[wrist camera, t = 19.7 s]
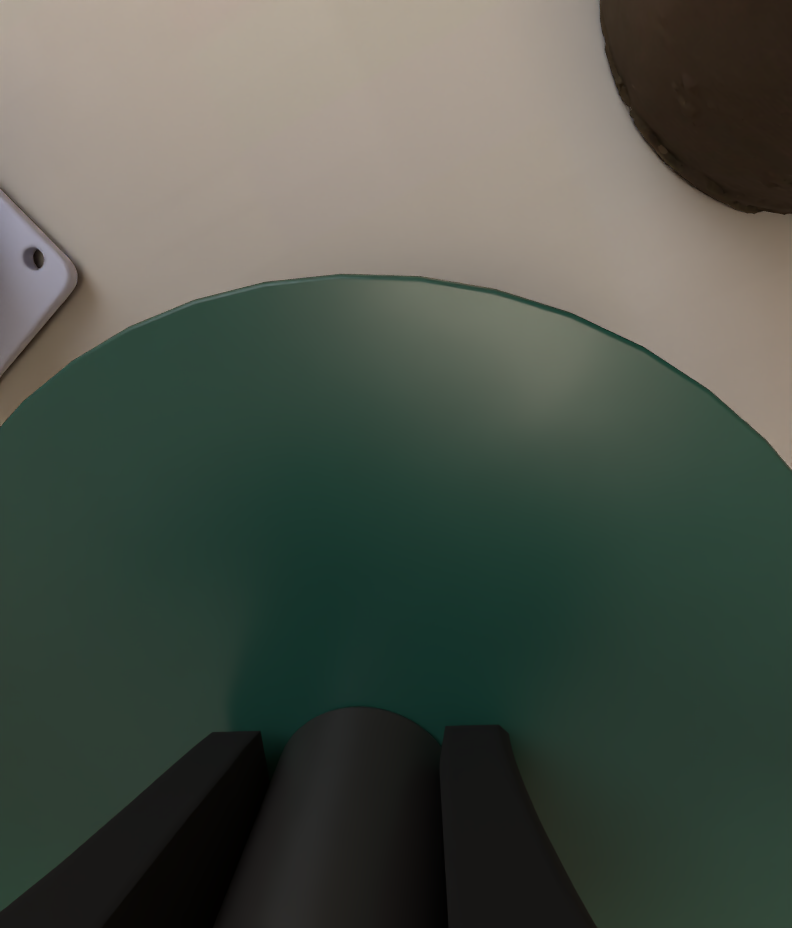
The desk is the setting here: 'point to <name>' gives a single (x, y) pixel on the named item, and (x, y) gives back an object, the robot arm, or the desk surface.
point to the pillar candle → (710, 91)
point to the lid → (401, 599)
